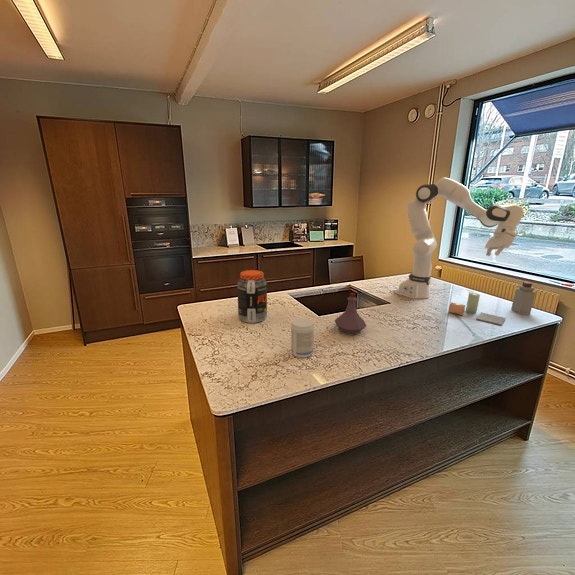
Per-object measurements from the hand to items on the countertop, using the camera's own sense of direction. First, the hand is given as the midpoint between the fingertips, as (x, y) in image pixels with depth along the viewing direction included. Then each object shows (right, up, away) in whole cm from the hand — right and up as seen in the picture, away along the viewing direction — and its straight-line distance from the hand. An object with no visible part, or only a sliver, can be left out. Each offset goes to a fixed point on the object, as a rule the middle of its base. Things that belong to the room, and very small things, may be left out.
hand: (491, 255), depth 183 cm
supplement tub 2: (-111, -47, -43) cm, 128 cm away
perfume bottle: (+22, -33, +7) cm, 40 cm away
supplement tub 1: (-136, -35, -7) cm, 141 cm away
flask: (-85, -40, -21) cm, 97 cm away
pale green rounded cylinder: (-9, -33, +6) cm, 34 cm away
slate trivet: (-4, -36, -5) cm, 37 cm away
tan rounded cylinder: (-19, -34, +3) cm, 39 cm away
